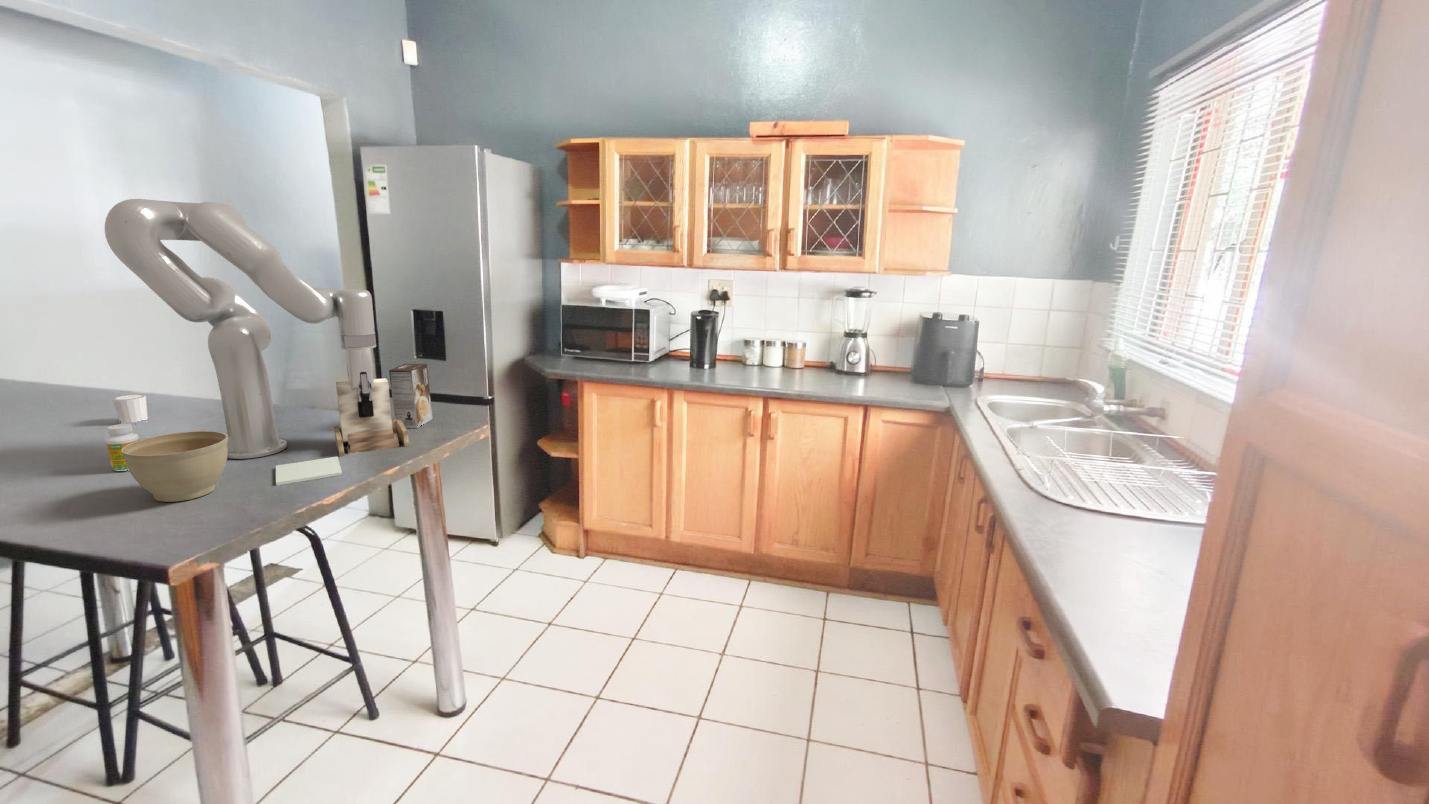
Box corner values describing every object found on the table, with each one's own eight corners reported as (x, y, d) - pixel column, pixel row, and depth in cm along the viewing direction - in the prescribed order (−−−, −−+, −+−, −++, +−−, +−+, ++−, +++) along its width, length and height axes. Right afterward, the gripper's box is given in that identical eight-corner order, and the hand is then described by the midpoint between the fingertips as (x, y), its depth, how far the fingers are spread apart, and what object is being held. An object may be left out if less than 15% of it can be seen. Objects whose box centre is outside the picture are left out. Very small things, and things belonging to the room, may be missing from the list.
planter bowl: (216, 505, 125) (206, 451, 122) (114, 514, 120) (101, 458, 118) (248, 476, 140) (240, 427, 137) (158, 482, 135) (148, 432, 133)
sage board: (276, 485, 135) (275, 482, 135) (276, 468, 145) (275, 465, 144) (342, 474, 141) (342, 472, 141) (337, 458, 151) (337, 456, 151)
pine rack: (339, 456, 153) (337, 439, 152) (335, 442, 163) (333, 427, 162) (409, 445, 161) (407, 430, 160) (401, 433, 171) (399, 418, 170)
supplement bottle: (110, 474, 140) (100, 430, 137) (115, 466, 144) (106, 424, 142) (142, 470, 142) (133, 427, 140) (147, 462, 147) (138, 421, 144)
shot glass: (146, 417, 181) (141, 392, 180) (154, 421, 178) (149, 396, 176) (114, 422, 176) (108, 397, 174) (121, 427, 172) (116, 401, 170)
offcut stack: (348, 455, 155) (346, 439, 154) (348, 449, 159) (345, 434, 158) (399, 448, 160) (397, 433, 159) (397, 443, 164) (396, 428, 163)
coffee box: (410, 418, 184) (405, 363, 180) (433, 419, 184) (428, 363, 180) (394, 428, 175) (388, 369, 171) (418, 428, 175) (412, 370, 171)
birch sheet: (343, 441, 158) (337, 385, 155) (341, 437, 161) (335, 382, 158) (393, 435, 164) (388, 381, 161) (390, 431, 167) (385, 378, 164)
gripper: (337, 337, 162) (345, 408, 166) (343, 347, 148) (351, 424, 153) (371, 335, 166) (377, 405, 170) (380, 345, 152) (386, 421, 157)
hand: (365, 413), depth 161 cm, fingers closed on birch sheet, 4 cm apart
